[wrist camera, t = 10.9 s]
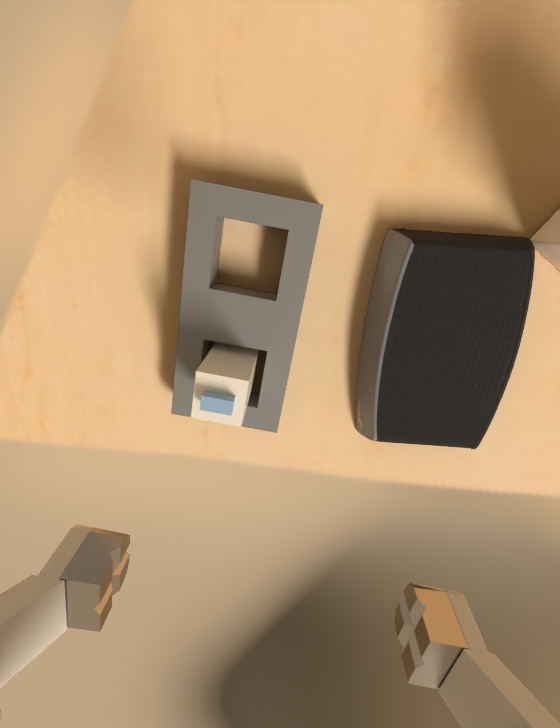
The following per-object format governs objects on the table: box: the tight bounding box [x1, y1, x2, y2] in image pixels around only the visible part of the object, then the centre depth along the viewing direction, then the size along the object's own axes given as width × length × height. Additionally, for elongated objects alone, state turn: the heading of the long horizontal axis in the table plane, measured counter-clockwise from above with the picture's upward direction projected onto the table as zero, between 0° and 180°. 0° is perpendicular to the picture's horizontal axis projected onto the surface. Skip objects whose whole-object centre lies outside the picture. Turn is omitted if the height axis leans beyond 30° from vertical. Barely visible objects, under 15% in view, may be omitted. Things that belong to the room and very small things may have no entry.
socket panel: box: [171, 179, 323, 433], centre depth 33 cm, size 20×10×3 cm, turn 170°
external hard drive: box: [356, 229, 535, 449], centre depth 33 cm, size 13×19×4 cm
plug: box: [191, 342, 259, 427], centre depth 32 cm, size 4×4×9 cm
